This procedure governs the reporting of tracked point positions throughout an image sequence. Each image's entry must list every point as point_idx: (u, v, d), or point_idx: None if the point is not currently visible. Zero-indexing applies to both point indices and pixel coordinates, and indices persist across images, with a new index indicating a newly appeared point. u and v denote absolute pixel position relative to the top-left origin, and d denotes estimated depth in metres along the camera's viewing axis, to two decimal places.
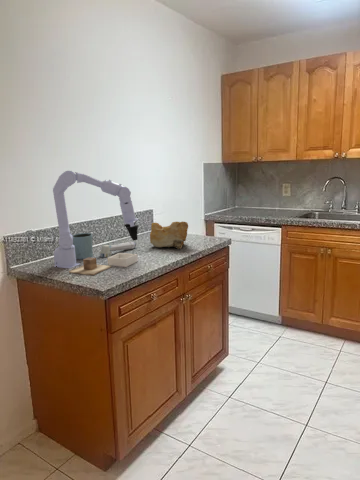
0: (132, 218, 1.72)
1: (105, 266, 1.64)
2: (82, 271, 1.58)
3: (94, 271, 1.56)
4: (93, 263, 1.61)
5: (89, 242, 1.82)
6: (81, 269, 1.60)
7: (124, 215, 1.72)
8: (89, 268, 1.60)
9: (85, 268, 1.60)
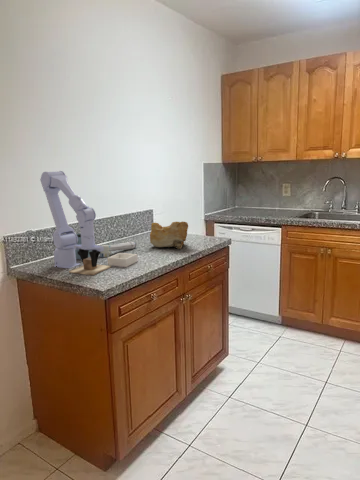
0: None
1: (105, 266, 1.64)
2: (82, 271, 1.58)
3: (94, 271, 1.56)
4: None
5: None
6: (81, 269, 1.60)
7: None
8: (89, 268, 1.60)
9: (85, 268, 1.60)
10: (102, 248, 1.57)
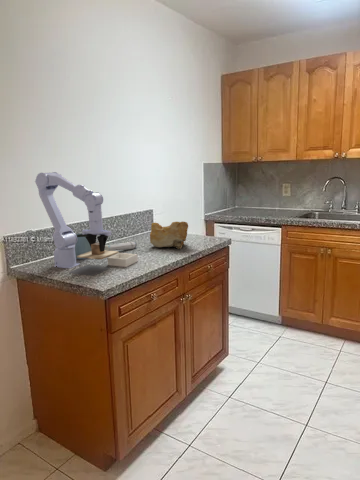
0: None
1: (113, 251, 1.65)
2: (90, 256, 1.59)
3: (102, 256, 1.57)
4: None
5: None
6: (89, 254, 1.61)
7: None
8: (97, 253, 1.61)
9: (93, 253, 1.62)
10: (110, 232, 1.58)
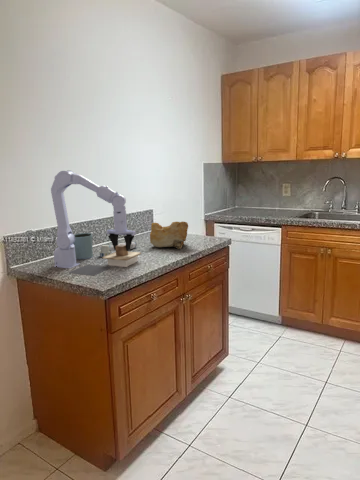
0: (114, 228, 1.68)
1: (135, 253, 1.73)
2: (115, 257, 1.66)
3: (126, 257, 1.65)
4: (125, 250, 1.69)
5: (89, 242, 1.82)
6: (113, 256, 1.69)
7: None
8: (121, 254, 1.68)
9: (117, 254, 1.69)
10: (134, 232, 1.65)
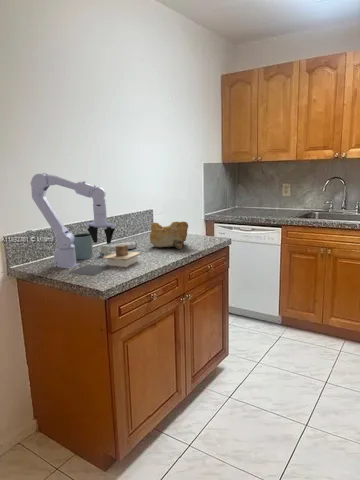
0: None
1: (135, 253, 1.73)
2: (115, 257, 1.66)
3: (126, 257, 1.65)
4: (125, 250, 1.69)
5: (89, 242, 1.82)
6: (113, 256, 1.69)
7: None
8: (121, 254, 1.68)
9: (117, 254, 1.69)
10: (114, 225, 1.66)
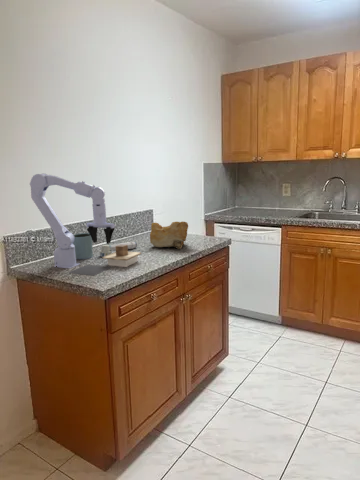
0: None
1: (135, 253, 1.73)
2: (115, 257, 1.66)
3: (126, 257, 1.65)
4: (125, 250, 1.69)
5: (89, 242, 1.82)
6: (113, 256, 1.69)
7: None
8: (121, 254, 1.68)
9: (117, 254, 1.69)
10: (113, 225, 1.66)
